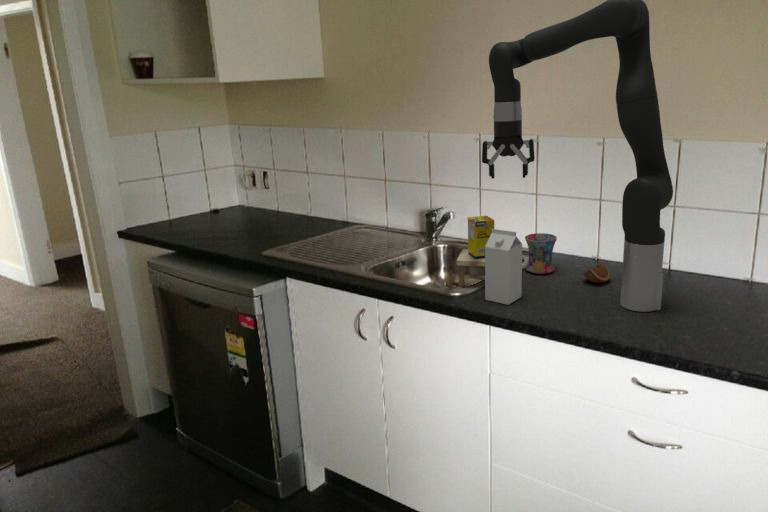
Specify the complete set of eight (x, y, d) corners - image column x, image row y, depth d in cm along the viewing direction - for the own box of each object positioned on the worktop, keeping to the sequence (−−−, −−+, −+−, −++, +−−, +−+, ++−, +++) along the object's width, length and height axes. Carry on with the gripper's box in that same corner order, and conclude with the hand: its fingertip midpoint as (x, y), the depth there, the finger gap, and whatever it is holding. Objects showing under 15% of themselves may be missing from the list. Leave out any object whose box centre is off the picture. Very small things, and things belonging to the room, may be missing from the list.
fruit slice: (598, 288, 177) (599, 271, 175) (577, 283, 182) (577, 266, 180) (614, 281, 182) (615, 264, 181) (593, 276, 187) (593, 259, 186)
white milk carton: (498, 292, 178) (498, 225, 172) (521, 297, 173) (522, 229, 168) (484, 300, 172) (484, 231, 167) (508, 305, 168) (509, 235, 162)
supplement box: (494, 257, 182) (495, 219, 179) (474, 259, 181) (474, 221, 178) (487, 251, 188) (487, 215, 185) (467, 253, 187) (467, 217, 183)
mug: (545, 278, 187) (546, 243, 184) (518, 272, 194) (518, 238, 190) (566, 268, 195) (568, 234, 192) (540, 262, 201) (541, 229, 198)
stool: (503, 275, 191) (503, 249, 188) (499, 289, 180) (499, 262, 177) (463, 274, 194) (462, 248, 192) (456, 287, 183) (456, 260, 181)
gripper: (534, 116, 177) (534, 175, 182) (482, 118, 181) (484, 176, 185) (534, 118, 170) (534, 179, 175) (480, 121, 174) (481, 180, 178)
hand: (508, 177), depth 180 cm, fingers open, 8 cm apart
